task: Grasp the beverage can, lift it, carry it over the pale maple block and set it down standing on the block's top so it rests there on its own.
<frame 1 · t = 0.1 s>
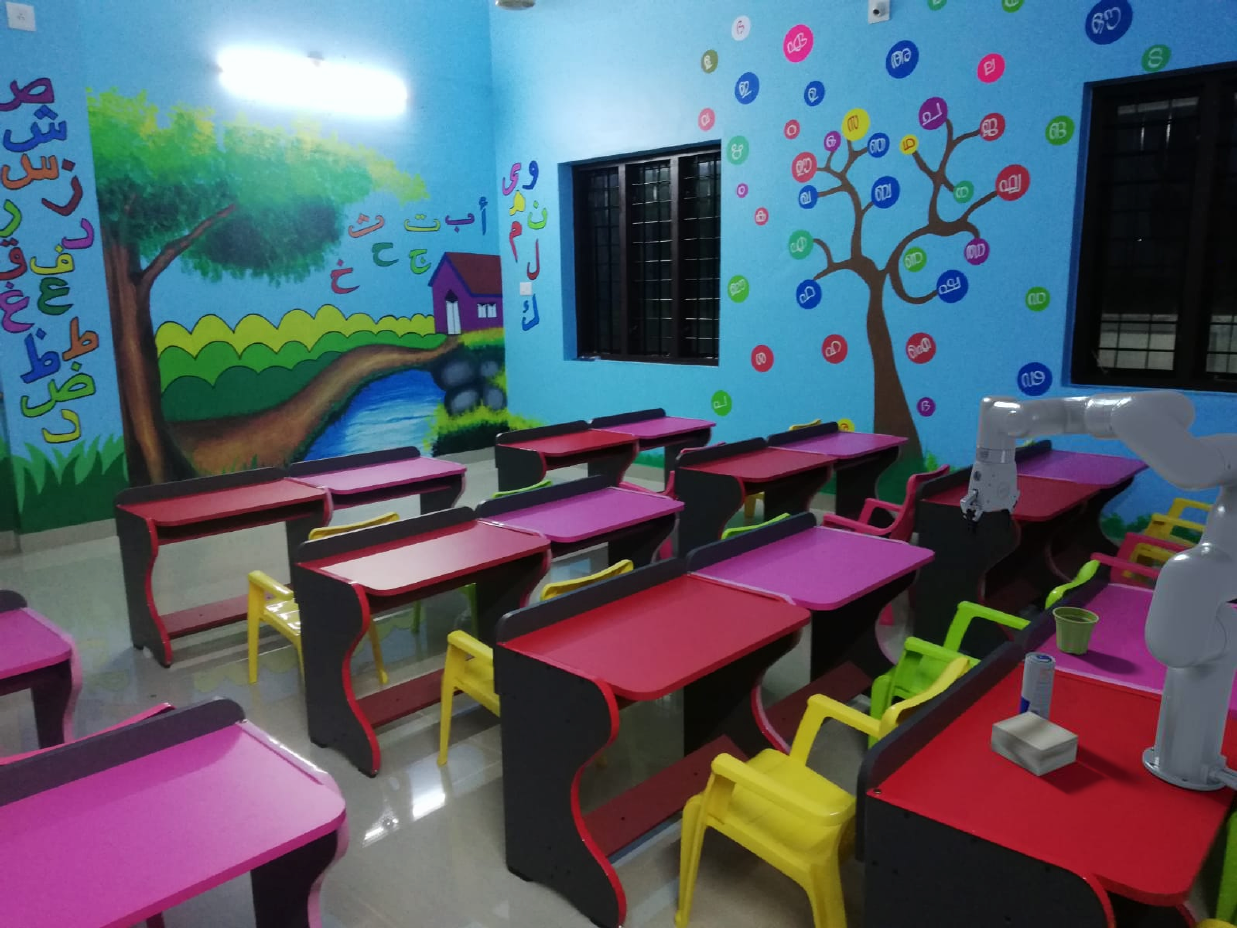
hand: (987, 533, 185), 31 cm above the table, fingers open, 9 cm apart
plant pot: (1071, 650, 202), on the table
beverage can: (1032, 729, 167), on the table
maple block: (1032, 754, 158), on the table
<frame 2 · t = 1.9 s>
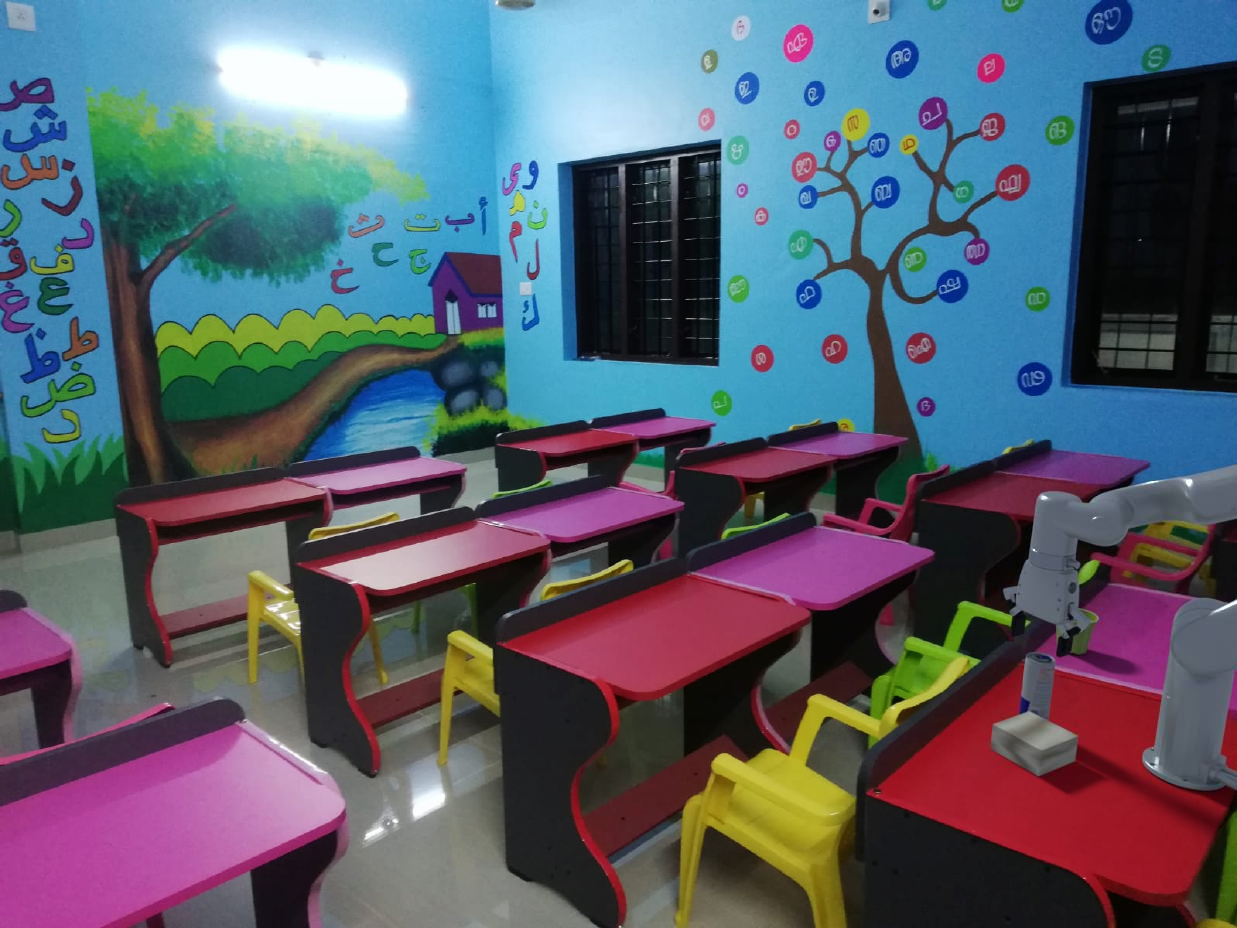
hand: (1039, 645, 164), 17 cm above the table, fingers open, 9 cm apart
nothing on the table moved.
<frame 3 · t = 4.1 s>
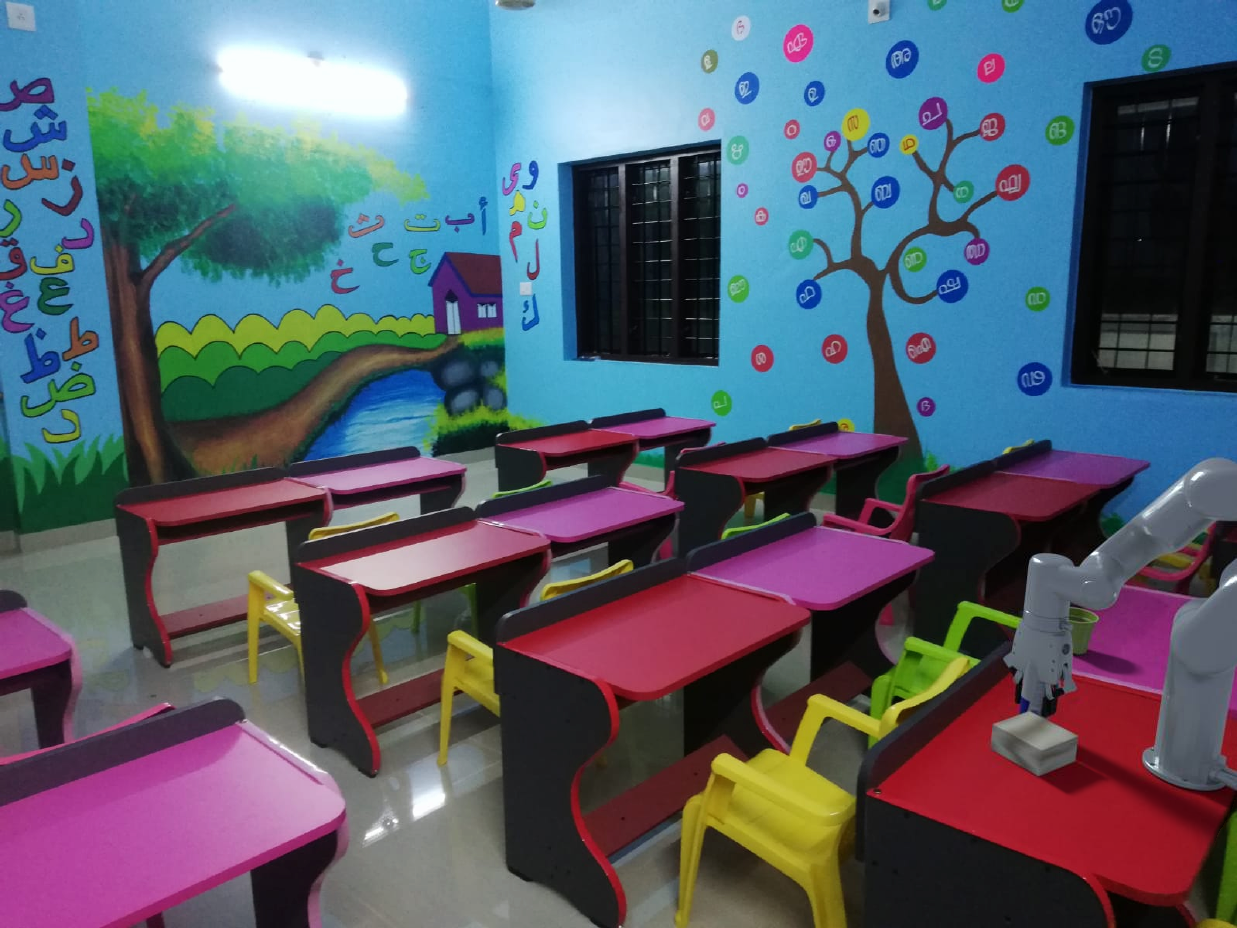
hand: (1034, 707, 166), 4 cm above the table, fingers closed on beverage can, 5 cm apart
beverage can: (1032, 729, 167), on the table, touching gripper
everything else where it was.
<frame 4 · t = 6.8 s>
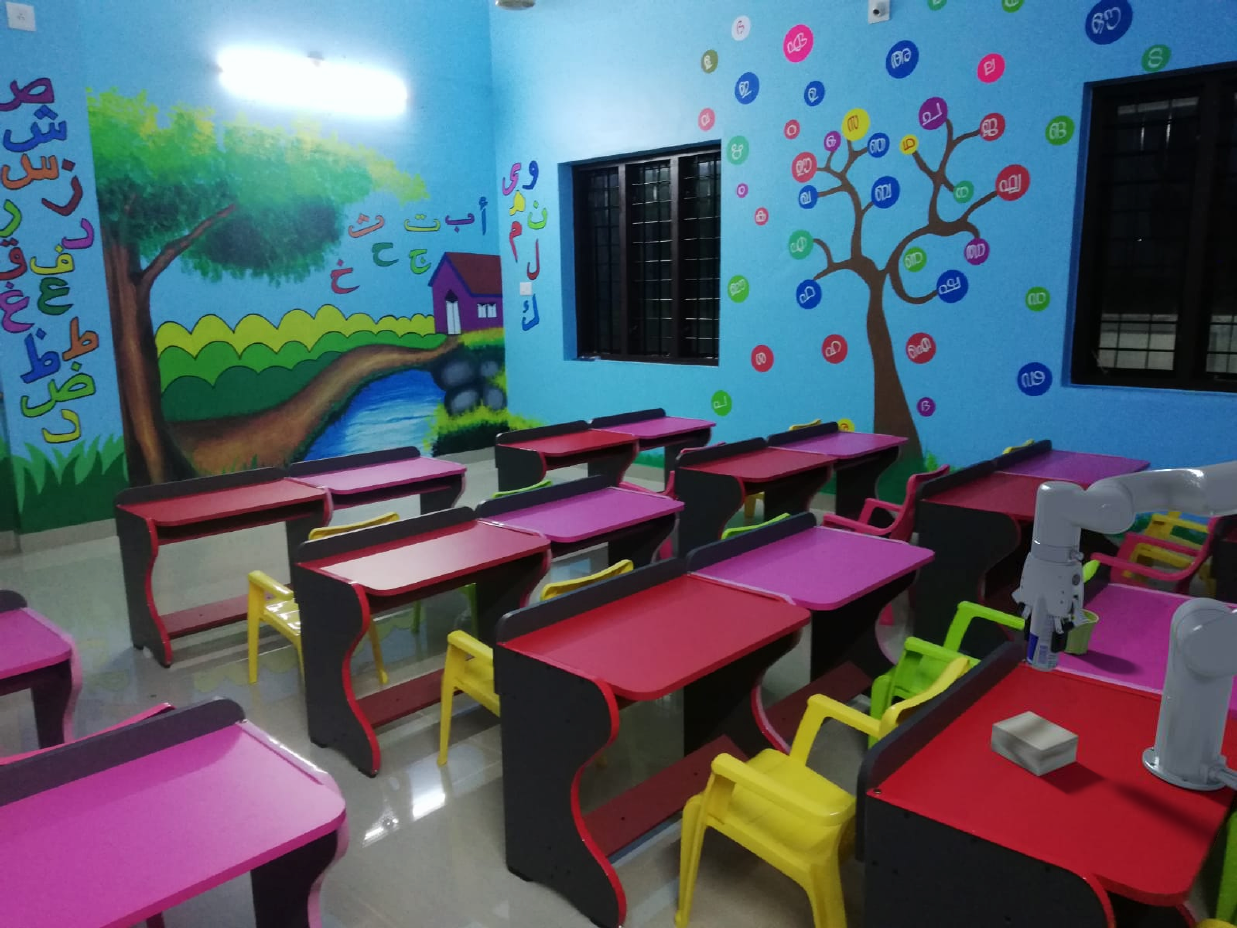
hand: (1044, 644, 159), 19 cm above the table, fingers closed on beverage can, 5 cm apart
beverage can: (1041, 667, 160), point 15 cm above the table, touching gripper
everything else where it was.
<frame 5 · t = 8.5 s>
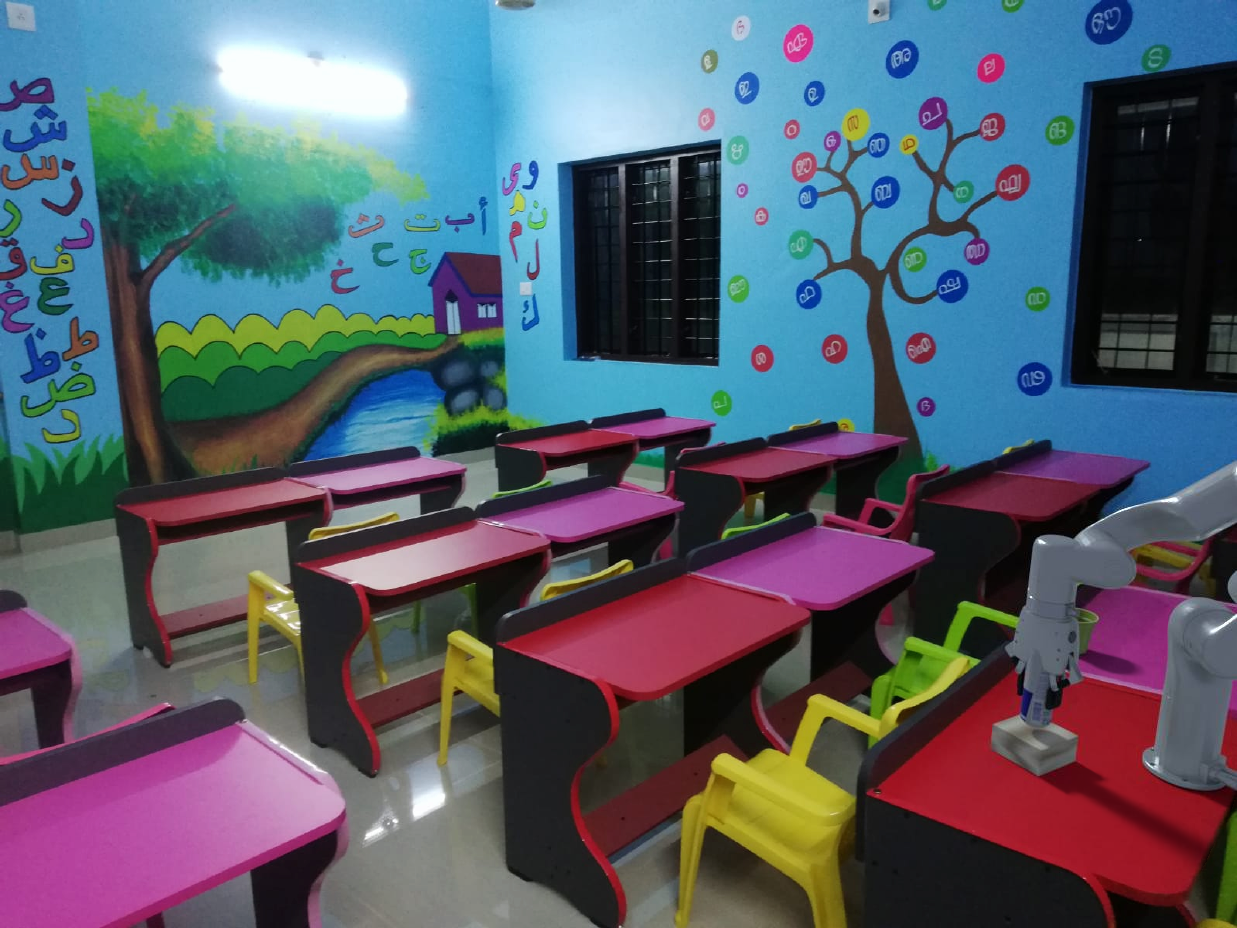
hand: (1037, 699, 156), 11 cm above the table, fingers closed on beverage can, 5 cm apart
beverage can: (1034, 723, 157), point 6 cm above the table, touching gripper
everything else where it was.
when the fingers open (10 cm above the table, at t = 9.8 s): beverage can stays where it is, resting on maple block.
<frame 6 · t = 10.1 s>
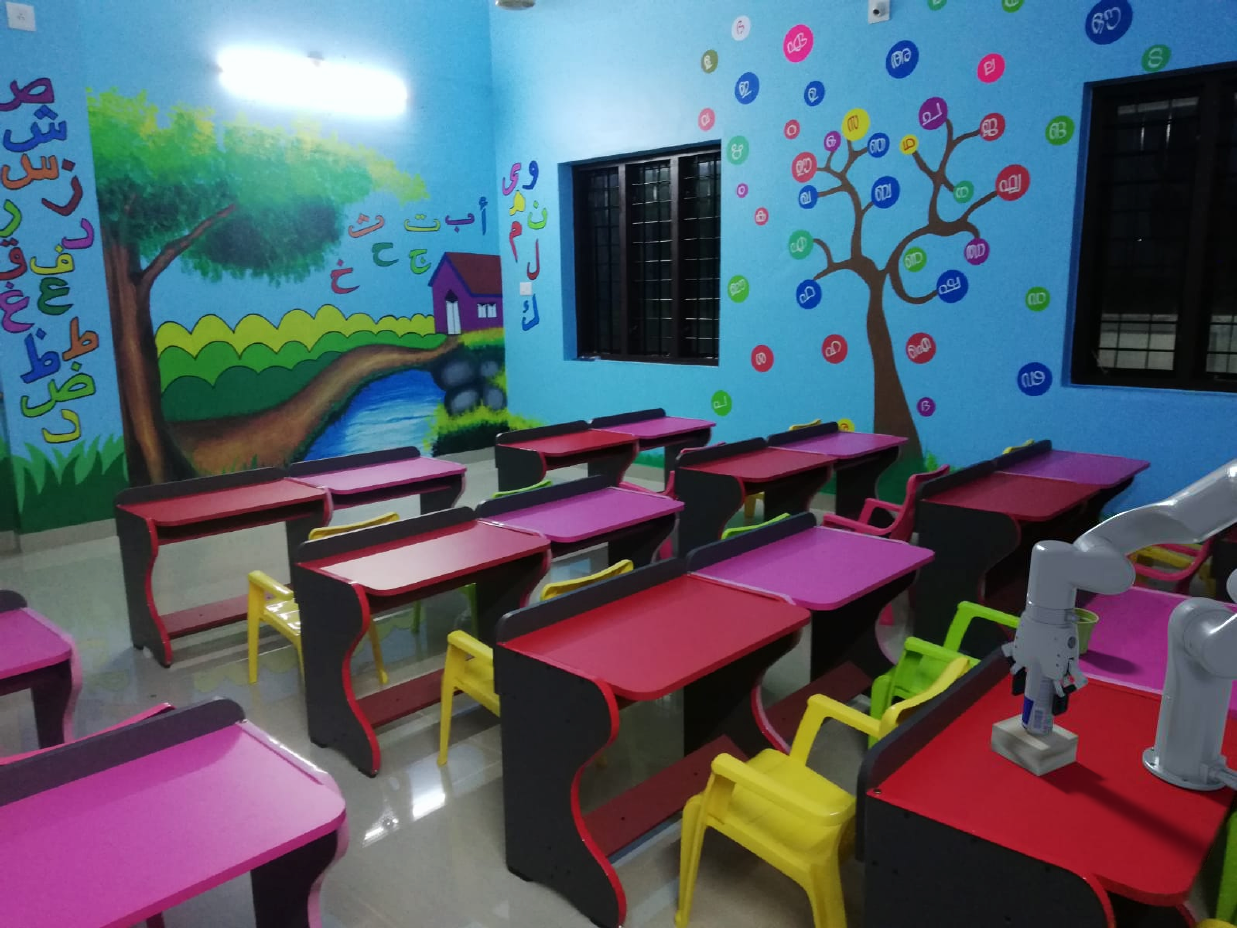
hand: (1038, 702, 156), 10 cm above the table, fingers open, 7 cm apart
beverage can: (1036, 731, 157), point 5 cm above the table, touching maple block
everything else where it was.
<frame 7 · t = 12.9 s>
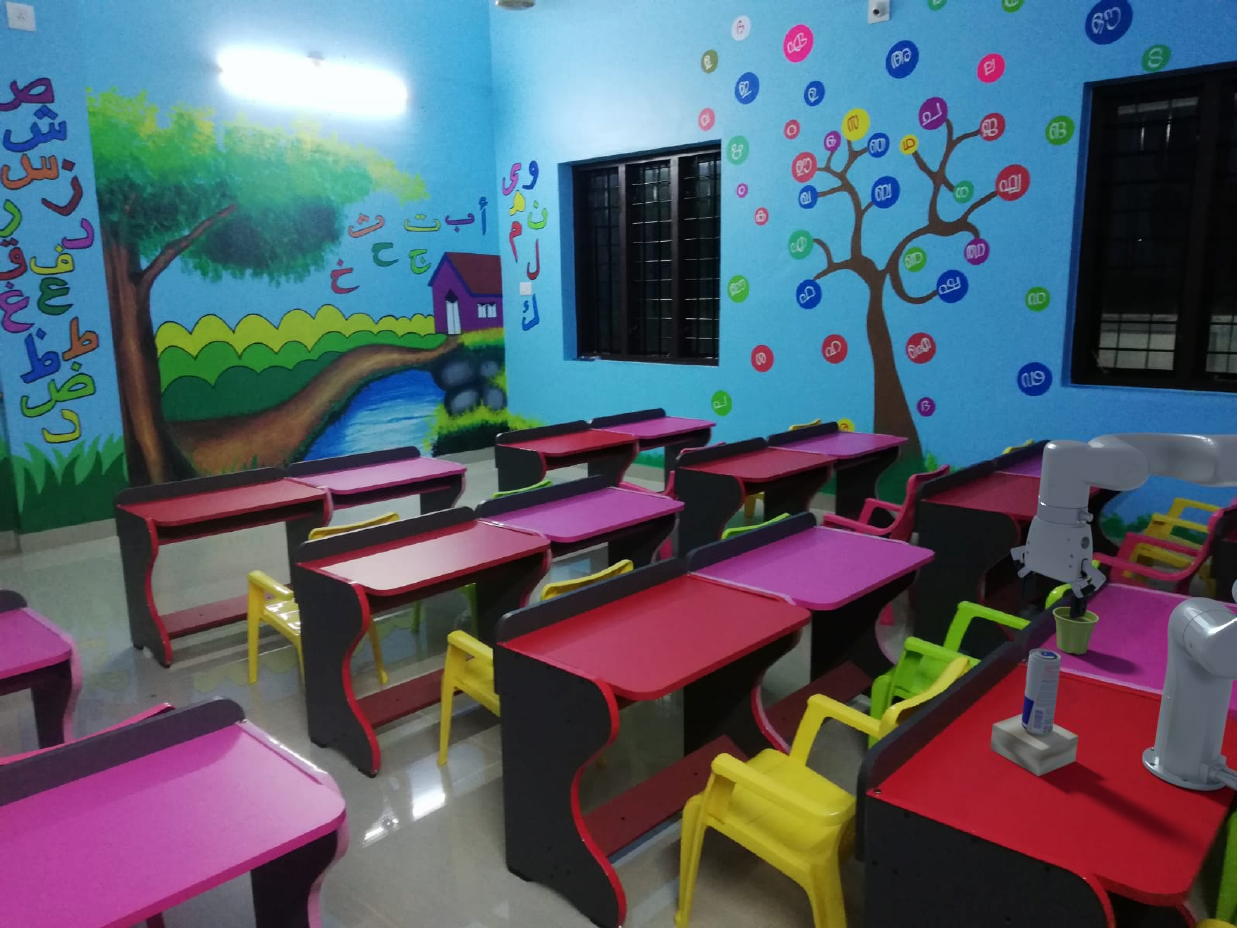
hand: (1051, 607, 152), 29 cm above the table, fingers open, 9 cm apart
nothing on the table moved.
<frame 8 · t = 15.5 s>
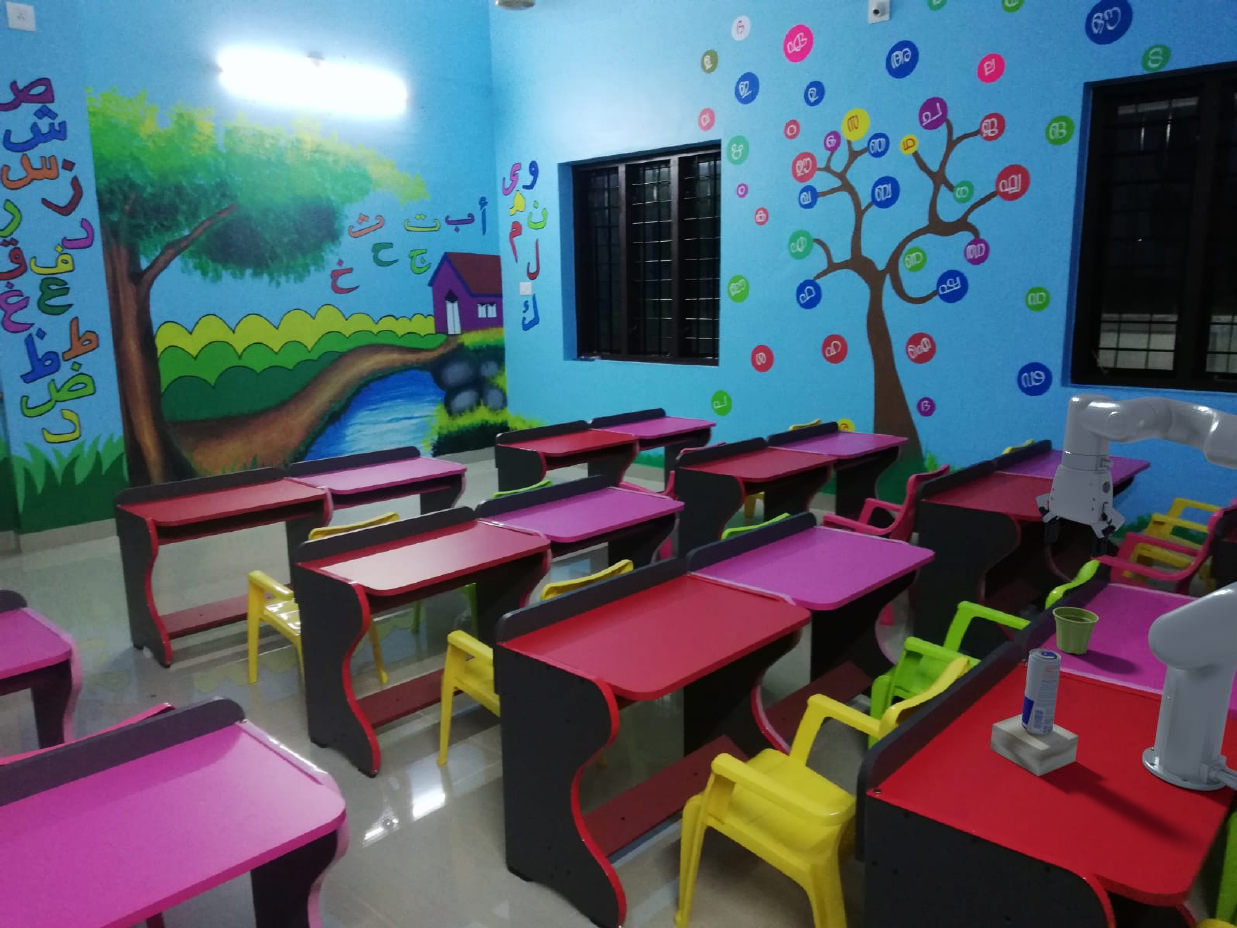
hand: (1073, 548, 165), 34 cm above the table, fingers open, 9 cm apart
nothing on the table moved.
at the end: beverage can inside the target area on the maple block (0.2 cm from its centre), point 4.8 cm above the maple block's base; beverage can tilted 0°; beverage can touching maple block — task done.
